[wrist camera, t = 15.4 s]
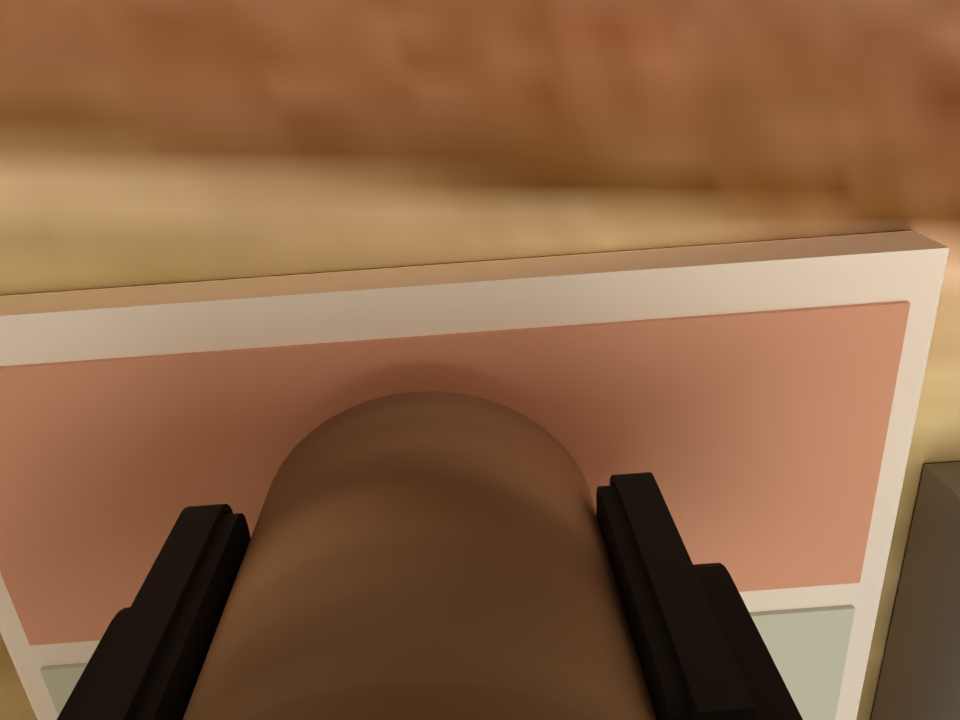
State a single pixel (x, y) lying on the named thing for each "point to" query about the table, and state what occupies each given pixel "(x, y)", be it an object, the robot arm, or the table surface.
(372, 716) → the walnut pawn
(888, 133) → the table surface
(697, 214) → the table surface
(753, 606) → the game board
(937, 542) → the dome base
